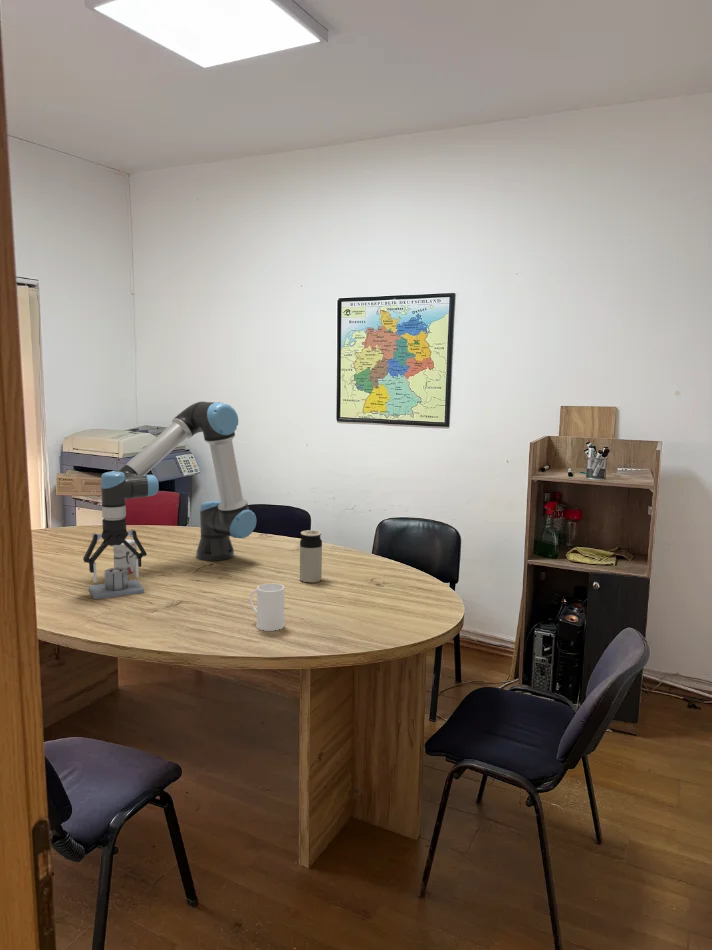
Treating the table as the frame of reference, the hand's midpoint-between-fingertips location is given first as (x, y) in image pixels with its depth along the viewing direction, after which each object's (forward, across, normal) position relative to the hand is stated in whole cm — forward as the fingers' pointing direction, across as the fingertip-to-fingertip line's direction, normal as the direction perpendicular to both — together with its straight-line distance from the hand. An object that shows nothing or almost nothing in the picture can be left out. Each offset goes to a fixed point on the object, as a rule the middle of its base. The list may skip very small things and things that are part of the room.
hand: (116, 578), depth 225 cm
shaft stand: (+4, 0, 0) cm, 4 cm away
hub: (+3, 0, 0) cm, 3 cm away
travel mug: (+4, -65, +18) cm, 68 cm away
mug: (+4, -34, +52) cm, 62 cm away
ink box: (+4, -7, -21) cm, 23 cm away
